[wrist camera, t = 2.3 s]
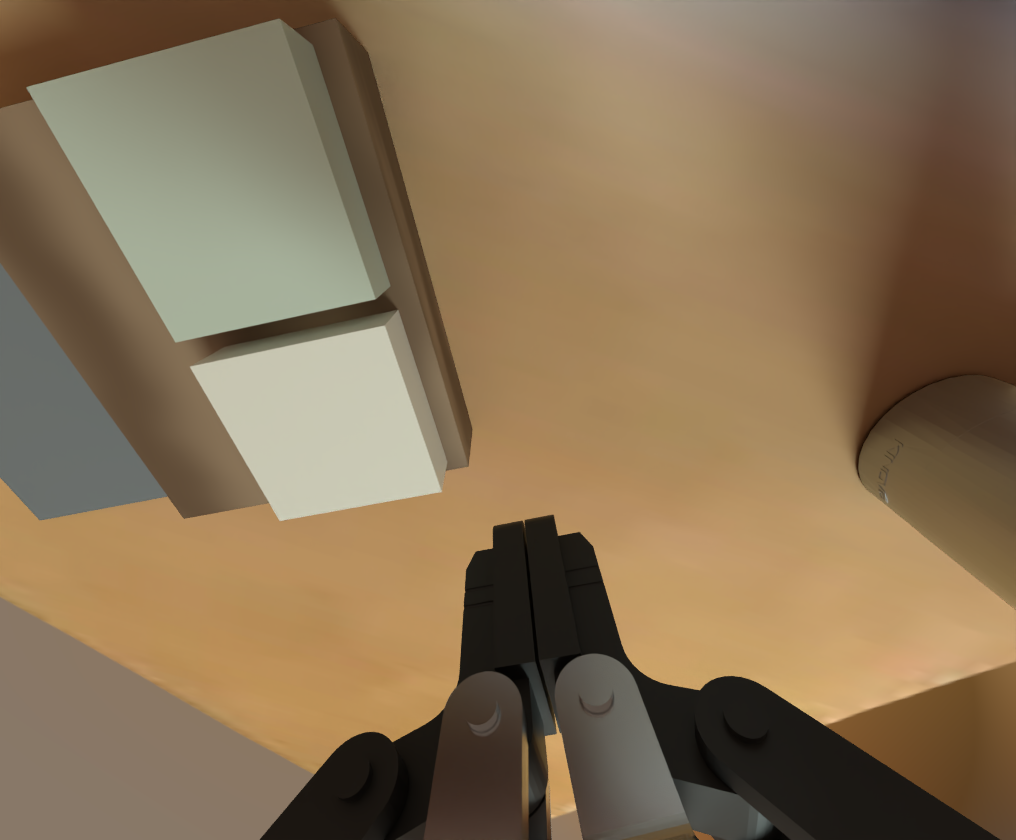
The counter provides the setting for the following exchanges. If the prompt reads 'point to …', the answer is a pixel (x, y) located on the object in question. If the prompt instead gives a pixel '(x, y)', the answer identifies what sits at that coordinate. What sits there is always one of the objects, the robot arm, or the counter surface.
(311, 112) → the sage tile
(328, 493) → the cream tile
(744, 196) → the counter surface
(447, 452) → the walnut board
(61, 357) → the grey mat
